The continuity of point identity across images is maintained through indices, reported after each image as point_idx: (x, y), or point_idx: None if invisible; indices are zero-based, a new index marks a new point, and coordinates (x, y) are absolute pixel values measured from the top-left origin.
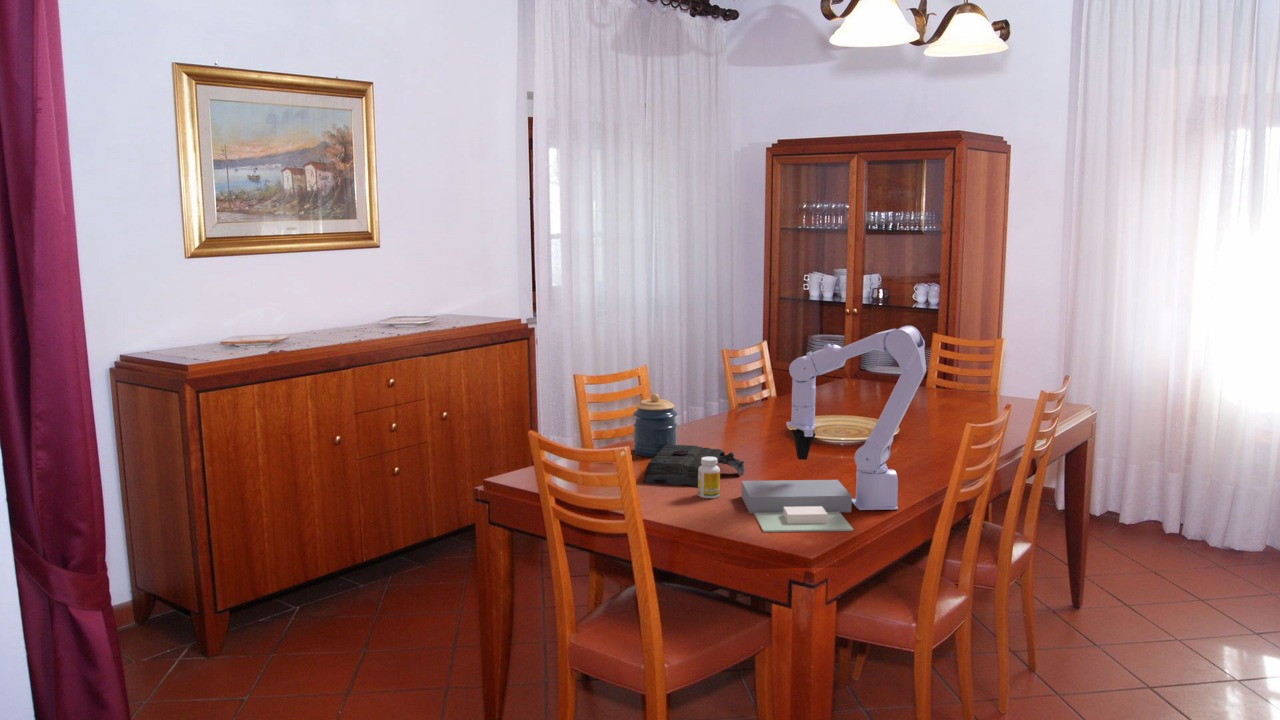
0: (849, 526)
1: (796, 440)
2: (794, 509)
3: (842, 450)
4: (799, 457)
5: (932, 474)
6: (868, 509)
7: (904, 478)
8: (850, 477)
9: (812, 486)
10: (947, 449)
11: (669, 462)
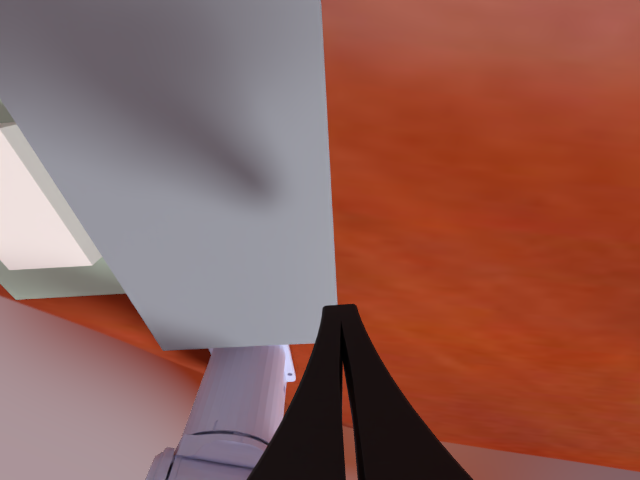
0: (34, 295)
1: (270, 445)
2: None
3: None
4: (321, 319)
5: (468, 438)
6: None
7: (456, 411)
8: (499, 345)
9: (243, 272)
10: (612, 467)
11: None
